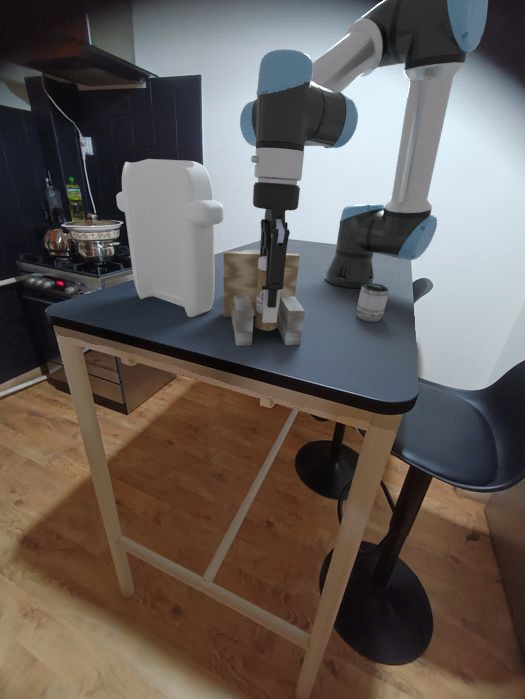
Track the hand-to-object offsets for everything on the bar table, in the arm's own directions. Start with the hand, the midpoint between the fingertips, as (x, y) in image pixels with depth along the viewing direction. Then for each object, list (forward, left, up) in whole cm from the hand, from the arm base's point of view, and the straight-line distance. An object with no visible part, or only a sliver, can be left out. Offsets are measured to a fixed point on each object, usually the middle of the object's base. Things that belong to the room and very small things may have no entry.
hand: (267, 316), depth 62 cm
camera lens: (-27, -10, -4) cm, 29 cm away
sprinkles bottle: (0, 0, -2) cm, 2 cm away
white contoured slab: (+19, -19, -4) cm, 27 cm away
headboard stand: (0, -4, -4) cm, 6 cm away
